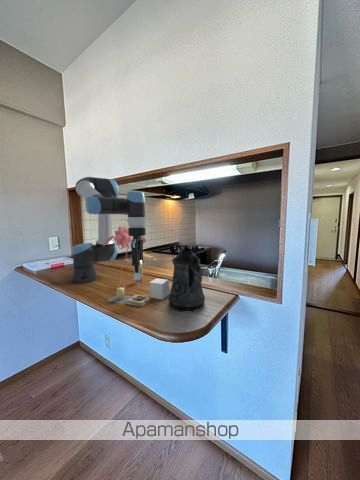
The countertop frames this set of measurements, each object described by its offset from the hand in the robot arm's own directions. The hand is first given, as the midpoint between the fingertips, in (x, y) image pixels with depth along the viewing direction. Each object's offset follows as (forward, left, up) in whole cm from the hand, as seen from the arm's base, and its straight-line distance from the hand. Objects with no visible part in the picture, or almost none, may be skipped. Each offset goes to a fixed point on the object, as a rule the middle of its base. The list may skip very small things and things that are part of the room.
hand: (138, 278), depth 92 cm
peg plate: (0, -11, -12) cm, 16 cm away
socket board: (0, 0, -12) cm, 12 cm away
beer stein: (-6, +22, -12) cm, 26 cm away
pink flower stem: (-18, -22, -12) cm, 31 cm away
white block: (-10, +5, -12) cm, 16 cm away
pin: (0, 0, -2) cm, 2 cm away
